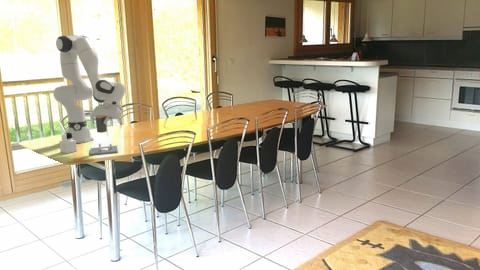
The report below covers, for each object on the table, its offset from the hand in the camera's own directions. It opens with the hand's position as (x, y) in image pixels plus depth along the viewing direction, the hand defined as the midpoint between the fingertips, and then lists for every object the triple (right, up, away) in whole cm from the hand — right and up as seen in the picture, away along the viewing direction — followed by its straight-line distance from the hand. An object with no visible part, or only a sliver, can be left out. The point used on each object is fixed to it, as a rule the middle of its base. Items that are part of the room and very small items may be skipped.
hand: (100, 123), depth 261 cm
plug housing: (0, -5, +2) cm, 5 cm away
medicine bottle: (-22, -18, +6) cm, 29 cm away
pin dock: (+1, -17, +4) cm, 18 cm away
